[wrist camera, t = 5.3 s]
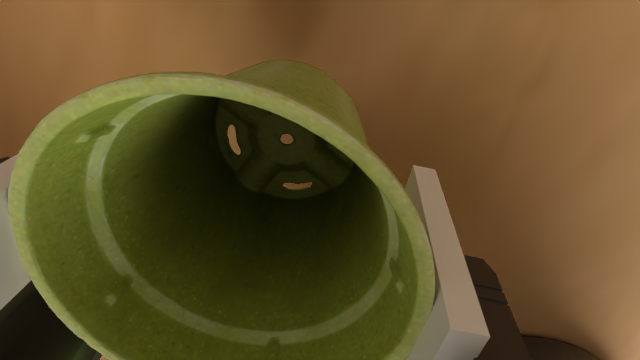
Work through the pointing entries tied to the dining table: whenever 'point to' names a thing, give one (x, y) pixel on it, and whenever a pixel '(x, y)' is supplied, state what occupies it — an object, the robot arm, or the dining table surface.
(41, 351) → the potion bottle
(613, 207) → the dining table surface
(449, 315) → the robot arm
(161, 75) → the plant pot
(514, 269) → the dining table surface
